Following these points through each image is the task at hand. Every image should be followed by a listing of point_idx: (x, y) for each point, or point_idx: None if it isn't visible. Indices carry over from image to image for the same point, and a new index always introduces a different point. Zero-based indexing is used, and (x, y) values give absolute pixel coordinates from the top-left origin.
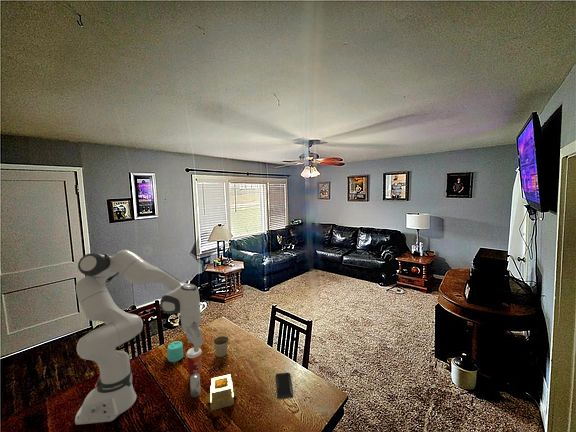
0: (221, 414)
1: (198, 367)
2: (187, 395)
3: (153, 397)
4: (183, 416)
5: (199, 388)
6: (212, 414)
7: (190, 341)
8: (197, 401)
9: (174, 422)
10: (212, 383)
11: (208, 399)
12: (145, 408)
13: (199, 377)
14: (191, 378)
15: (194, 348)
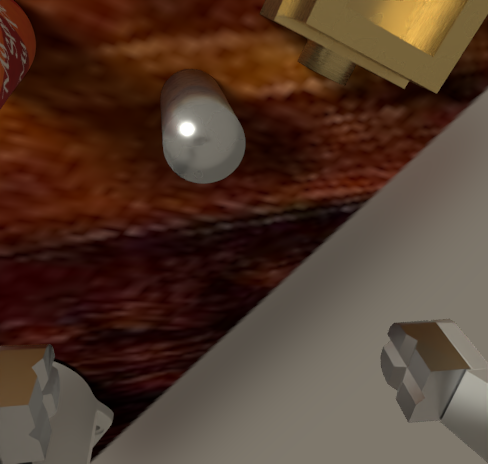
0: None
1: (10, 32)
2: None
3: (65, 293)
4: (297, 202)
5: (223, 94)
6: None
7: (43, 386)
8: (258, 114)
9: (297, 240)
10: (365, 42)
11: (348, 77)
12: (123, 324)
13: (231, 112)
14: (208, 175)
15: (464, 429)
